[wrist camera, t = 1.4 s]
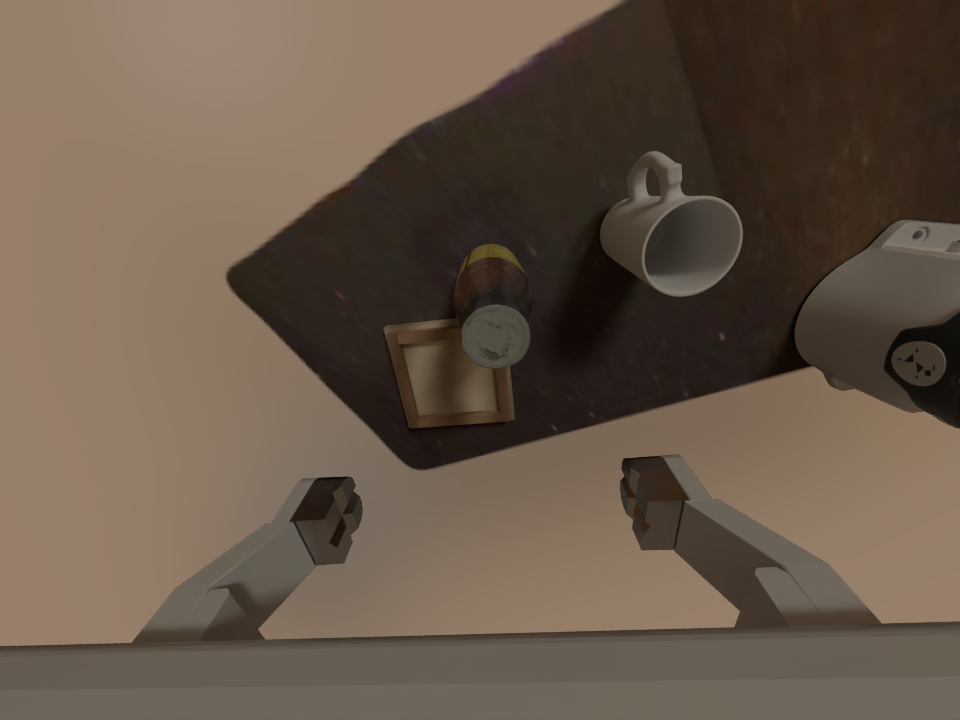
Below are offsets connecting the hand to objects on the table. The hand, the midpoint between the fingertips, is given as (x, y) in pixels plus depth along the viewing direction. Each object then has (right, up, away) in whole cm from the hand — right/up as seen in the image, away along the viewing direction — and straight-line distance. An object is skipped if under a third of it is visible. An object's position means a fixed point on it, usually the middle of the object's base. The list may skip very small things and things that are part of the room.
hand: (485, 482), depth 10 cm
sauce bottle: (+1, +13, +27) cm, 30 cm away
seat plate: (-3, +2, +33) cm, 33 cm away
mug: (+15, +18, +24) cm, 33 cm away
